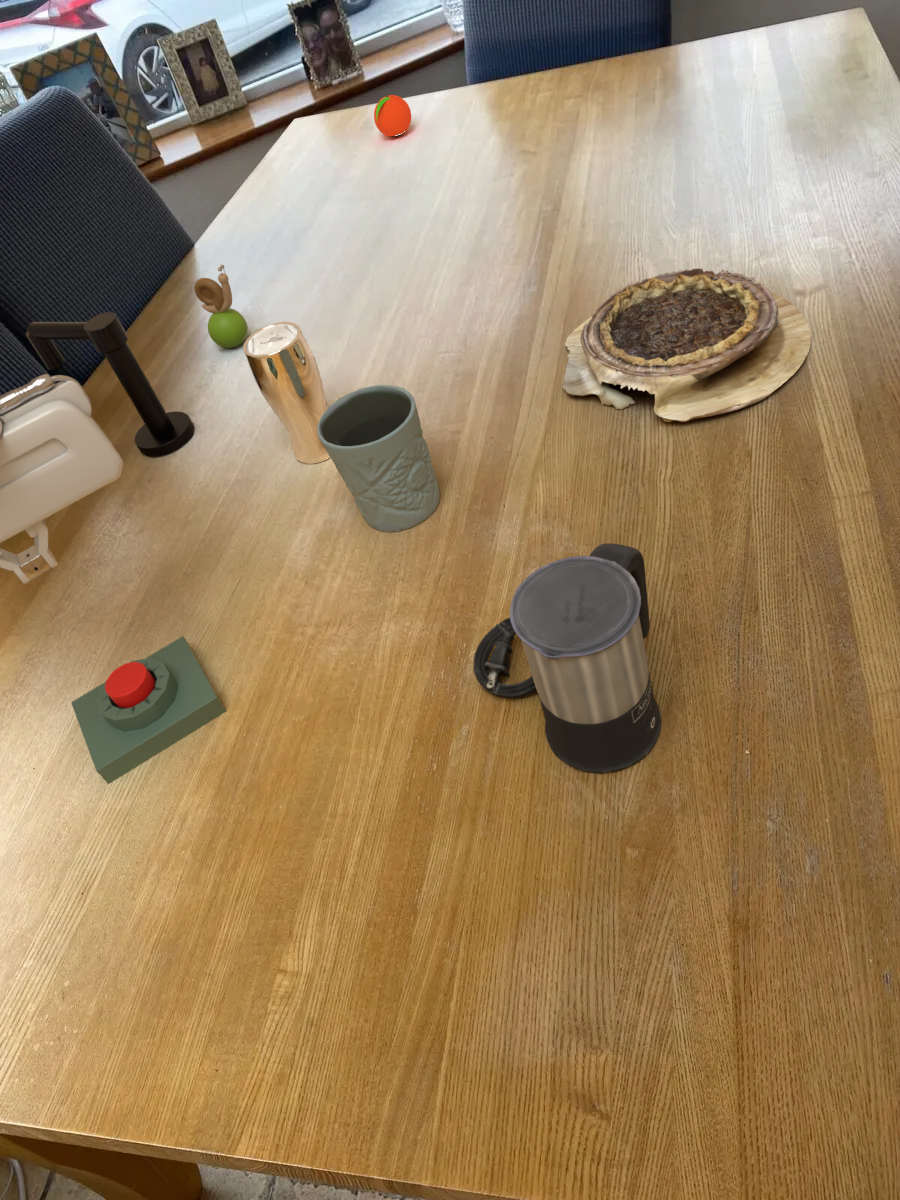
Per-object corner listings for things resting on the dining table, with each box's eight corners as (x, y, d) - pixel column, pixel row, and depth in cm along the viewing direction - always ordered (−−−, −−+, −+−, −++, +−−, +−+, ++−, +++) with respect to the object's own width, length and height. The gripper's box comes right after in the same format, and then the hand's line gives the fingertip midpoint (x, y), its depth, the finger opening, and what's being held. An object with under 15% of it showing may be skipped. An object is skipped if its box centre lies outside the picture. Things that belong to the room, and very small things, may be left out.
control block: (108, 784, 84) (85, 759, 81) (82, 715, 91) (60, 690, 88) (227, 711, 86) (208, 685, 84) (192, 649, 93) (174, 623, 90)
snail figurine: (248, 354, 132) (212, 276, 124) (211, 356, 134) (173, 279, 126) (265, 332, 135) (231, 255, 127) (228, 334, 138) (192, 258, 129)
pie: (576, 299, 120) (570, 263, 117) (805, 271, 111) (805, 232, 108) (547, 438, 102) (539, 400, 99) (817, 417, 94) (818, 375, 90)
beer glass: (316, 424, 115) (270, 317, 105) (358, 435, 112) (314, 324, 101) (280, 459, 112) (228, 352, 102) (321, 471, 108) (272, 361, 98)
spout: (39, 373, 119) (11, 330, 115) (59, 355, 121) (32, 312, 117) (128, 377, 112) (101, 331, 108) (147, 357, 115) (122, 311, 110)
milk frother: (660, 777, 71) (639, 652, 60) (458, 775, 75) (407, 658, 65) (664, 633, 80) (646, 503, 70) (484, 638, 85) (443, 517, 74)
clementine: (399, 146, 172) (387, 106, 167) (369, 146, 175) (357, 107, 170) (422, 126, 176) (412, 86, 171) (393, 127, 179) (382, 88, 174)
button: (120, 715, 84) (110, 704, 83) (109, 689, 87) (99, 677, 86) (160, 691, 85) (151, 680, 84) (148, 666, 88) (139, 654, 87)
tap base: (149, 465, 119) (92, 372, 109) (133, 440, 124) (77, 349, 114) (202, 436, 120) (151, 341, 110) (184, 413, 125) (133, 320, 116)
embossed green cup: (452, 521, 97) (421, 427, 88) (359, 549, 97) (319, 459, 89) (437, 463, 104) (407, 372, 95) (350, 490, 105) (313, 402, 96)
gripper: (57, 347, 70) (146, 488, 79) (-212, 484, 65) (-84, 615, 75) (76, 378, 65) (168, 524, 75) (-211, 527, 61) (-75, 661, 71)
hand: (40, 571), depth 75 cm, fingers closed
